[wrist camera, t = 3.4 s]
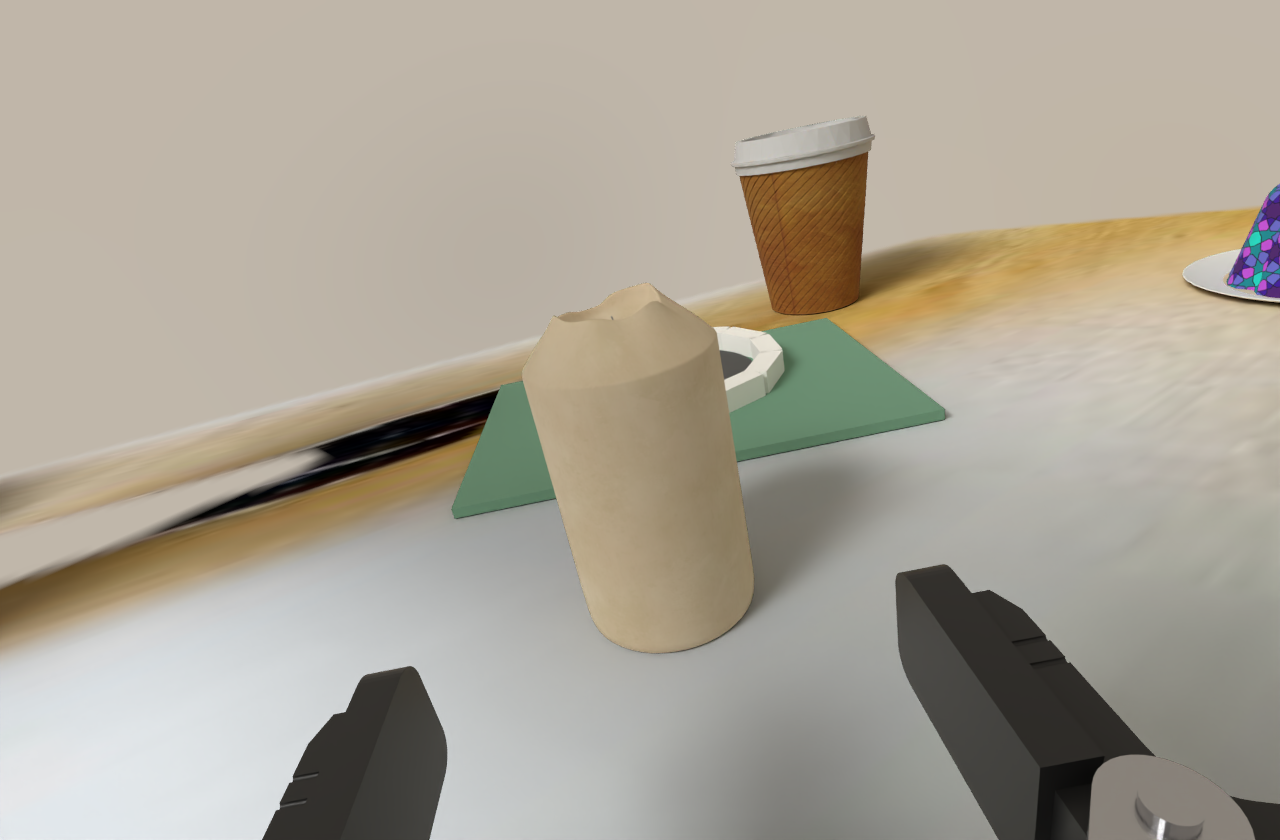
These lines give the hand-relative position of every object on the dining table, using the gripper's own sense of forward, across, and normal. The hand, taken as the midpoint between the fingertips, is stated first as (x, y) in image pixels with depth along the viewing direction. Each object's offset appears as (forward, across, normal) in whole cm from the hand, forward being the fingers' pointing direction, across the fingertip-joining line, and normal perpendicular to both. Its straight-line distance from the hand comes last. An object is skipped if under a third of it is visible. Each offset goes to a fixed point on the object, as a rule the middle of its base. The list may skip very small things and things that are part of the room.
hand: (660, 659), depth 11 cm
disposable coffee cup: (+39, -14, +6) cm, 42 cm away
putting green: (+25, -2, +6) cm, 26 cm away
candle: (+9, 0, +6) cm, 11 cm away
